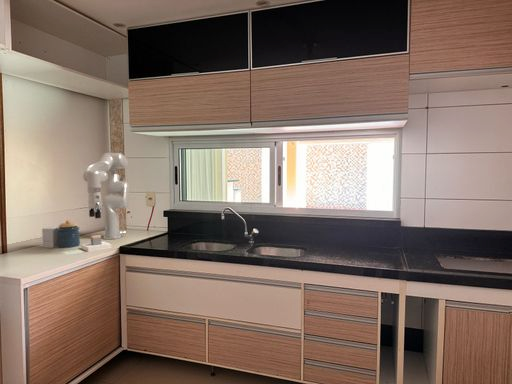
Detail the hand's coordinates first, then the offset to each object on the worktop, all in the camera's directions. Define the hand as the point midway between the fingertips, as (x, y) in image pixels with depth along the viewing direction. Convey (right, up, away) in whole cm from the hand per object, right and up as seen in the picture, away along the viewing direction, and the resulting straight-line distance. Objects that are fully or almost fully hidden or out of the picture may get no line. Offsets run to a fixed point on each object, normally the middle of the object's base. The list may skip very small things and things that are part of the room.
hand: (95, 217), depth 218 cm
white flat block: (0, -20, +1) cm, 20 cm away
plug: (0, -20, +1) cm, 20 cm away
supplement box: (-32, -20, +8) cm, 39 cm away
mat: (-10, -21, -8) cm, 25 cm away
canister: (-21, -20, +8) cm, 30 cm away
